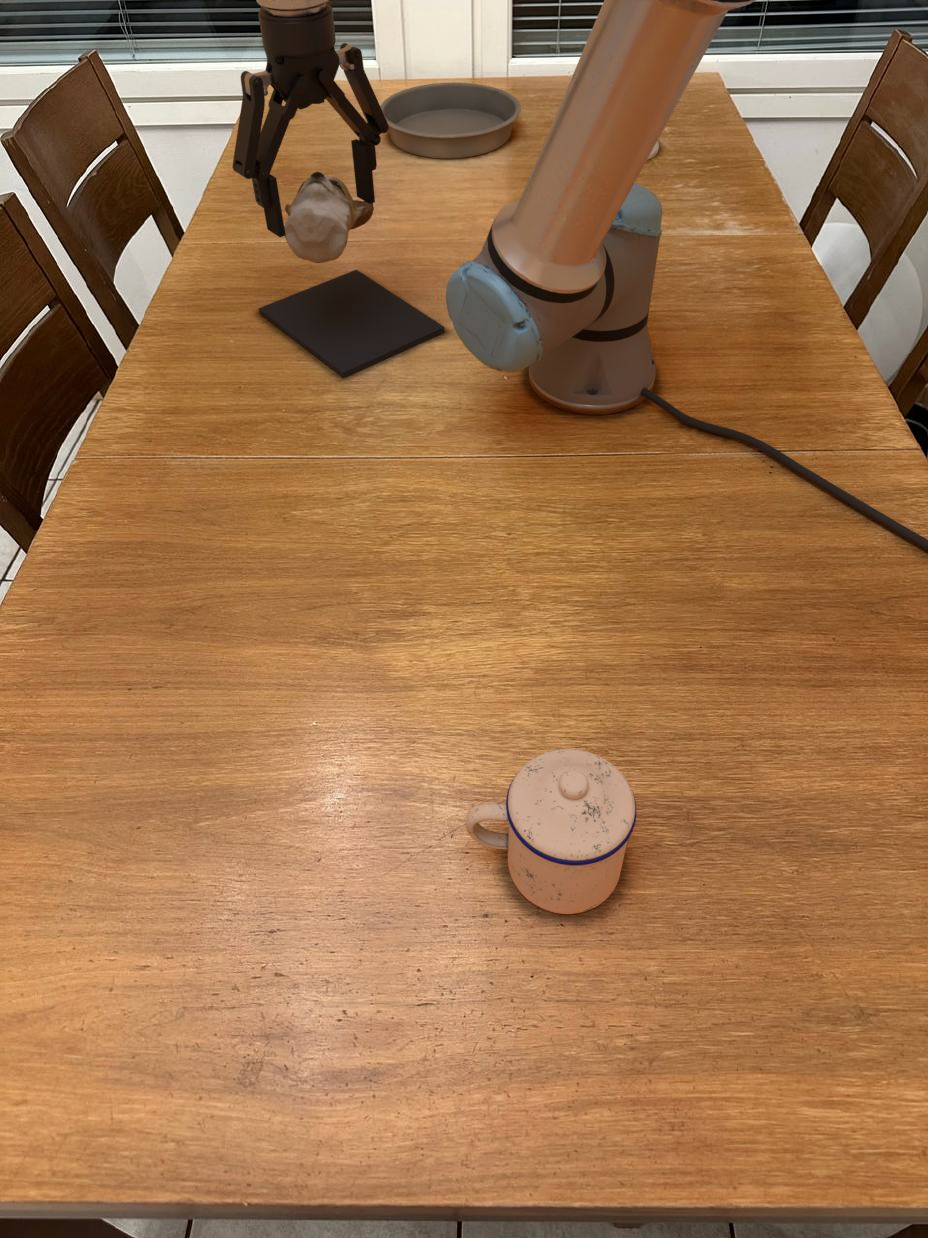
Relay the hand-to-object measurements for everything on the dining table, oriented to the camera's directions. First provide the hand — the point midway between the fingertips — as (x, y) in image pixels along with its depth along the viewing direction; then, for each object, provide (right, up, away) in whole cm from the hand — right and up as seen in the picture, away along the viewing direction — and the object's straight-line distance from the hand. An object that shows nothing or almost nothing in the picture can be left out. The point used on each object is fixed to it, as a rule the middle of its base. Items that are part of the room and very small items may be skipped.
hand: (322, 215), depth 111 cm
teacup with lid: (+23, -66, -39) cm, 80 cm away
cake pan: (+14, +38, +55) cm, 68 cm away
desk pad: (+2, -8, +14) cm, 16 cm away
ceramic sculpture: (0, -2, +2) cm, 3 cm away
